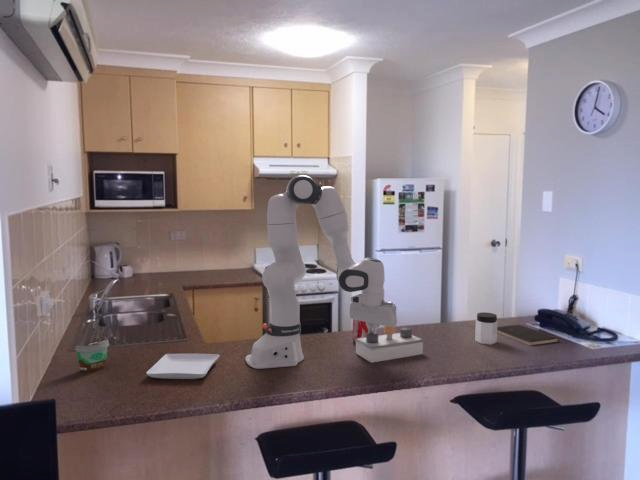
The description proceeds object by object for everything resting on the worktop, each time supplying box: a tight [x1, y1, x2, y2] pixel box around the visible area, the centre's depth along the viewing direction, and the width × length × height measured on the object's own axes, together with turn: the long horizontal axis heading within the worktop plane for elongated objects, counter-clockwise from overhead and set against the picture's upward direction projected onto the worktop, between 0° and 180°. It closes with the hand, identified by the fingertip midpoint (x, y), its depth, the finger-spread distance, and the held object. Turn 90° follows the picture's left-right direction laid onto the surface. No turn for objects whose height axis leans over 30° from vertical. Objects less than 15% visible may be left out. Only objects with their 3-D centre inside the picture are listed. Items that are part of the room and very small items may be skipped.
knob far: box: [399, 326, 413, 338], centre depth 201 cm, size 5×5×7 cm
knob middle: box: [382, 324, 397, 340], centre depth 197 cm, size 5×5×7 cm
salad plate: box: [146, 353, 220, 380], centre depth 179 cm, size 21×21×3 cm
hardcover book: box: [497, 324, 559, 346], centre depth 222 cm, size 16×23×2 cm
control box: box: [355, 332, 424, 363], centre depth 198 cm, size 24×12×6 cm, turn 115°
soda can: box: [352, 319, 368, 344], centre depth 212 cm, size 7×7×12 cm
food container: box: [75, 336, 110, 373], centre depth 180 cm, size 12×6×10 cm, turn 148°
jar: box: [474, 311, 499, 346], centre depth 213 cm, size 9×8×12 cm
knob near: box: [366, 332, 379, 343], centre depth 194 cm, size 5×5×7 cm
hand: (372, 333), depth 194 cm, fingers closed, pressing on knob near
